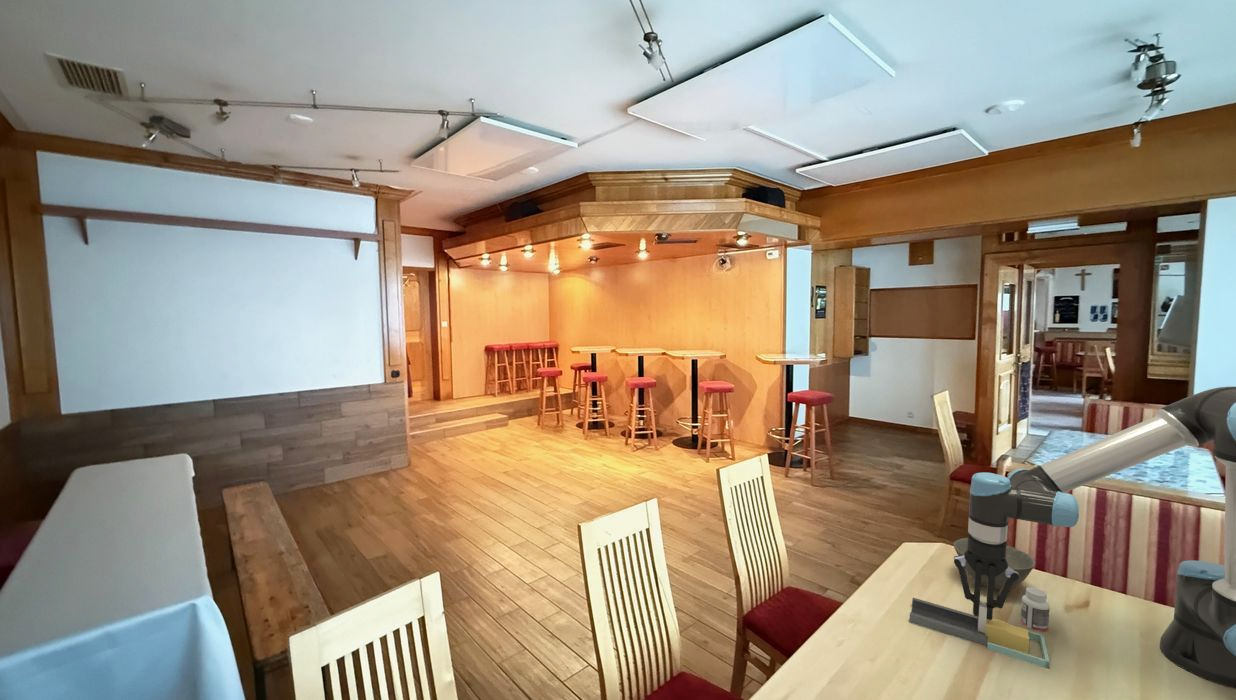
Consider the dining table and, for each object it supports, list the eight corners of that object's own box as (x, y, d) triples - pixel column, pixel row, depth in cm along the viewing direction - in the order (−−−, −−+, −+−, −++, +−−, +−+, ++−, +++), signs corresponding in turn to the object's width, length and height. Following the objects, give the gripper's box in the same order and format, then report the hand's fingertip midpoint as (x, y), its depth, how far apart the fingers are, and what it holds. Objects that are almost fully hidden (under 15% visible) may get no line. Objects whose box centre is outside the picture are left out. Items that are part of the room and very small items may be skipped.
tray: (1042, 644, 117) (1043, 635, 117) (1048, 673, 108) (1049, 662, 108) (985, 627, 124) (986, 618, 123) (987, 653, 115) (987, 643, 114)
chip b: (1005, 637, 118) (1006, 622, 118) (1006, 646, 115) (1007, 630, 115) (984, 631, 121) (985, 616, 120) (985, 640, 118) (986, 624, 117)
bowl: (1050, 597, 136) (1052, 563, 135) (999, 608, 131) (1001, 573, 130) (984, 563, 154) (985, 533, 153) (937, 572, 149) (939, 541, 148)
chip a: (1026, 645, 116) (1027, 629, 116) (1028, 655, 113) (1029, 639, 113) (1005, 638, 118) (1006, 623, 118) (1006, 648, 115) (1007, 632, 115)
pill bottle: (1051, 629, 123) (1053, 593, 122) (1043, 637, 120) (1046, 600, 119) (1024, 618, 127) (1026, 582, 126) (1016, 626, 124) (1019, 589, 123)
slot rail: (985, 629, 123) (986, 618, 122) (987, 650, 115) (987, 638, 115) (912, 607, 132) (912, 597, 132) (909, 625, 125) (909, 614, 124)
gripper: (1020, 538, 117) (1014, 630, 119) (954, 525, 124) (950, 611, 126) (1023, 551, 111) (1016, 648, 113) (954, 536, 118) (949, 627, 120)
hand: (981, 629), depth 119 cm, fingers closed
